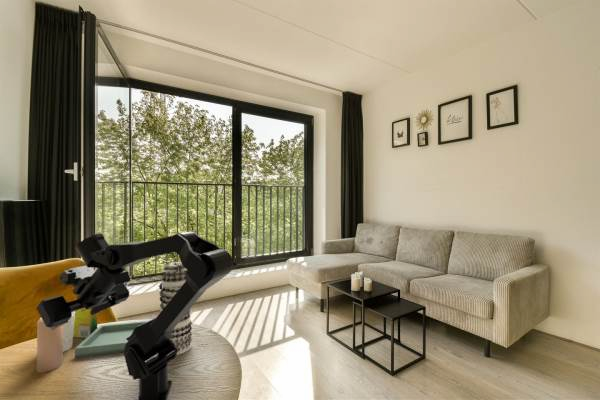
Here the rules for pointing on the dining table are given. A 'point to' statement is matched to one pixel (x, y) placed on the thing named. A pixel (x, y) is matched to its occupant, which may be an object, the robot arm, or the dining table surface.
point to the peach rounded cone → (49, 347)
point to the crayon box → (84, 323)
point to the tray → (106, 339)
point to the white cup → (68, 333)
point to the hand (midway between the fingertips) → (72, 320)
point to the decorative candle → (171, 284)
